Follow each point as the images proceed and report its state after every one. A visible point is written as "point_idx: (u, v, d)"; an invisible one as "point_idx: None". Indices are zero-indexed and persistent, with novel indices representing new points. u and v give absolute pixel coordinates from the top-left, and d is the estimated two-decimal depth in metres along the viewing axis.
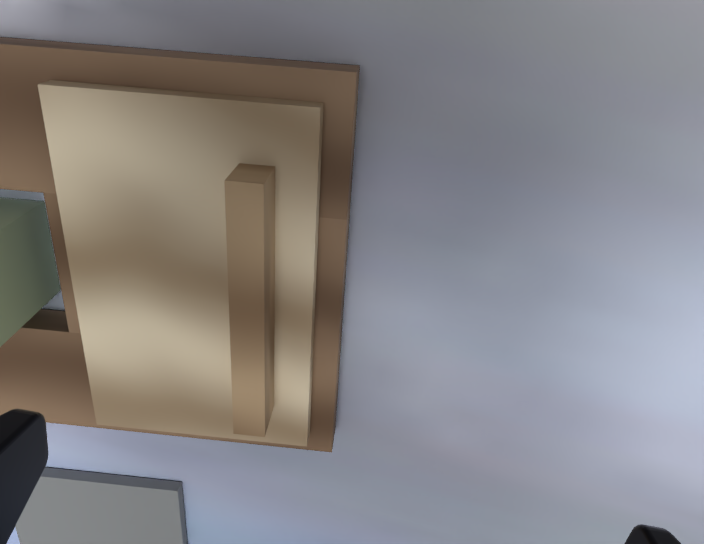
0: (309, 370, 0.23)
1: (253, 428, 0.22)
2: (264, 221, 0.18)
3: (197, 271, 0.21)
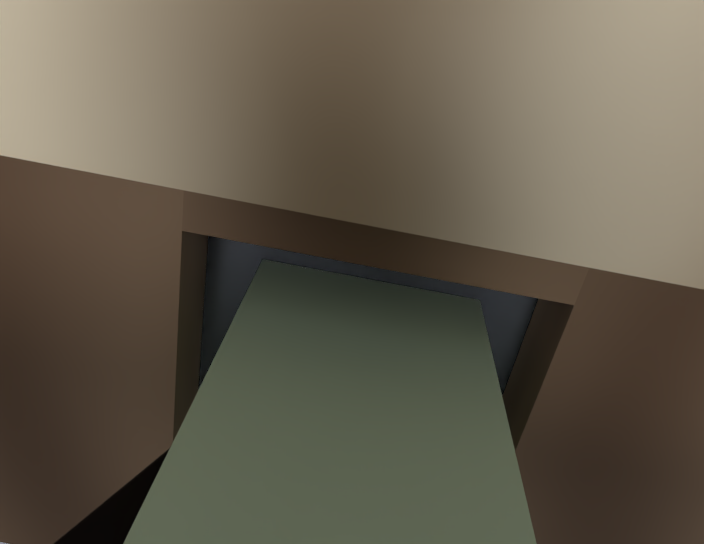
0: None
1: None
2: None
3: None
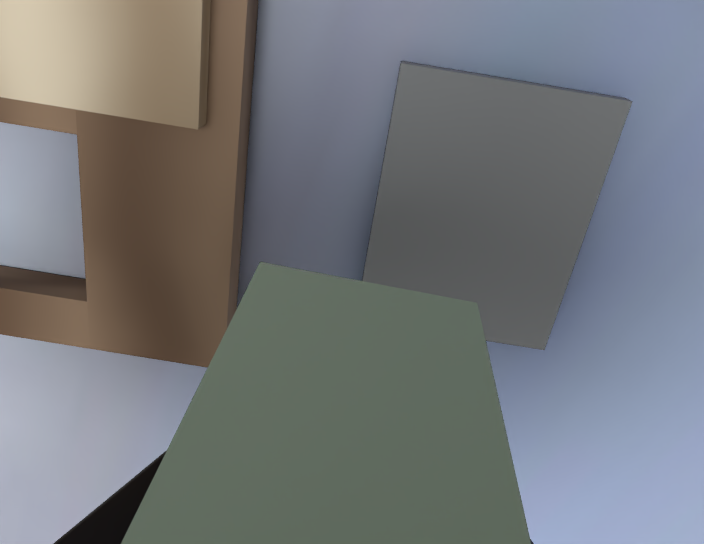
0: None
1: None
2: None
3: None
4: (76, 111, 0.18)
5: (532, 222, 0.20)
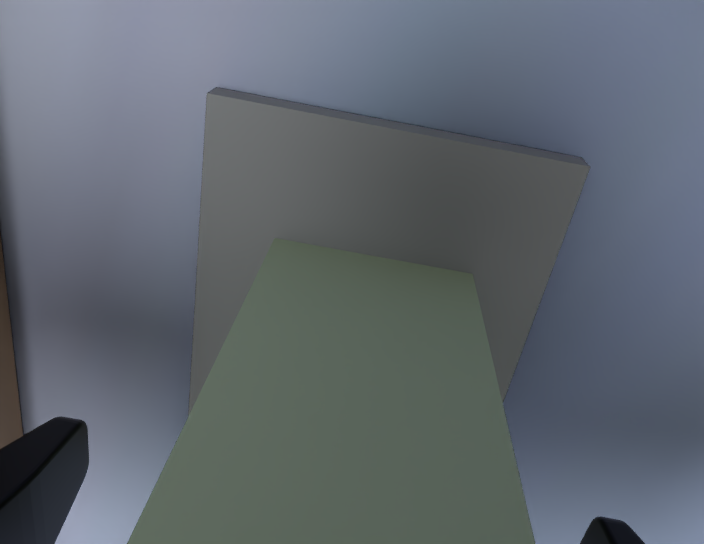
0: None
1: None
2: None
3: None
4: None
5: None
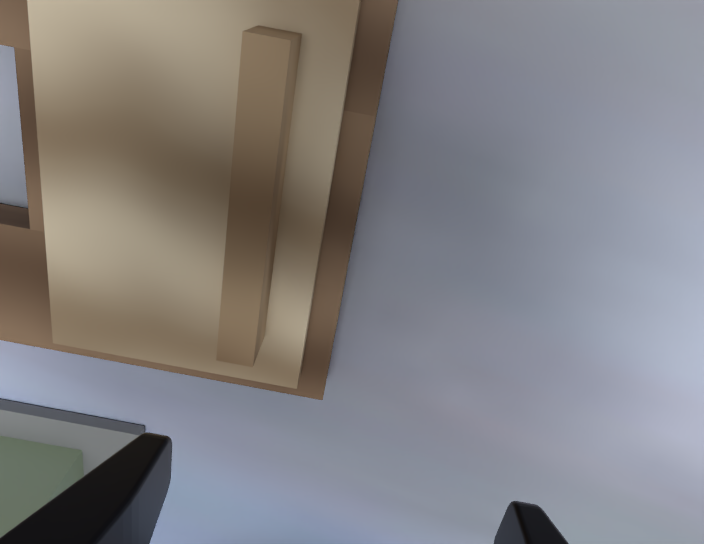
0: (310, 296, 0.20)
1: (240, 355, 0.19)
2: (285, 91, 0.15)
3: (192, 161, 0.18)
4: None
5: None
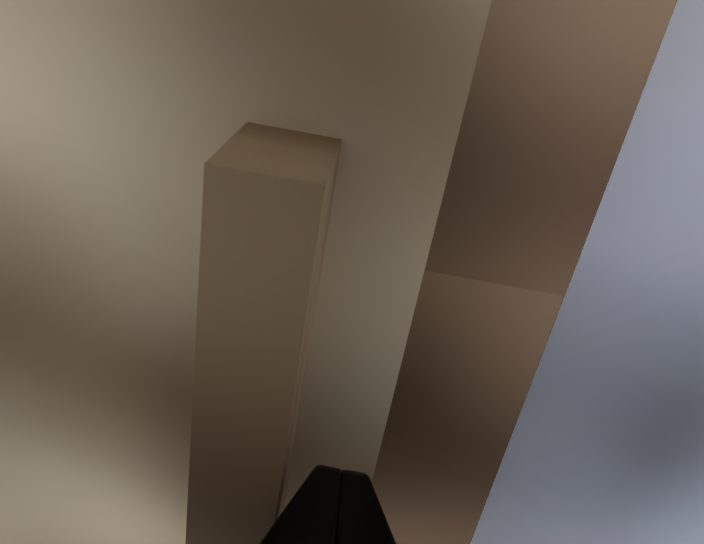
0: None
1: None
2: (309, 290, 0.06)
3: (124, 366, 0.09)
4: None
5: None
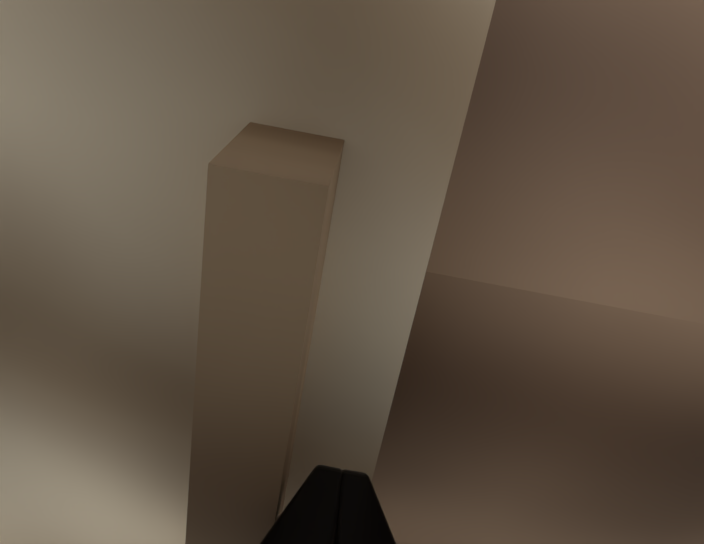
0: None
1: None
2: (311, 291, 0.06)
3: (124, 365, 0.09)
4: None
5: None
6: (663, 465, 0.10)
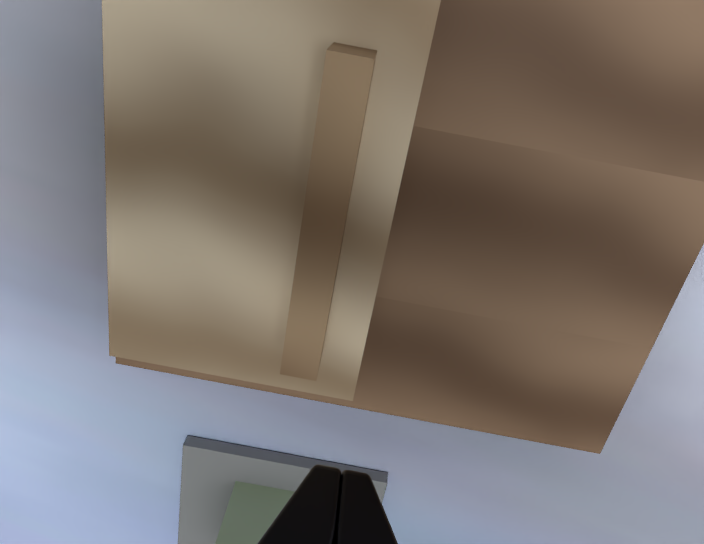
0: (371, 310, 0.20)
1: (305, 369, 0.19)
2: (365, 109, 0.15)
3: (260, 176, 0.18)
4: None
5: None
6: (546, 242, 0.19)
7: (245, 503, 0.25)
